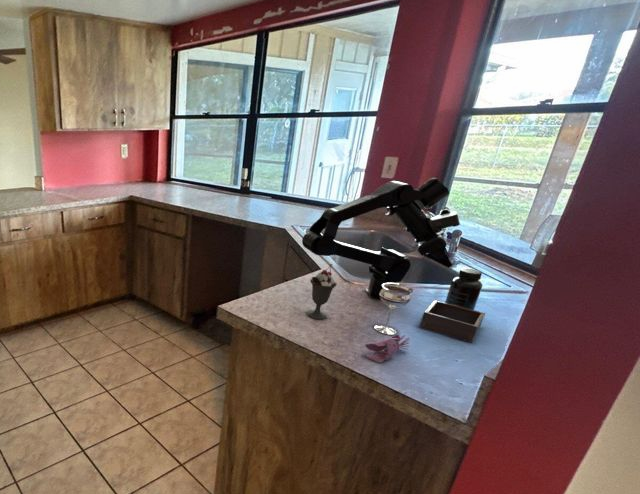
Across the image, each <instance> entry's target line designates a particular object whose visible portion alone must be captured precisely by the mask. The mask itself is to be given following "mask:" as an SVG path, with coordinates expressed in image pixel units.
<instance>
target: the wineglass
mask: <svg viewBox="0 0 640 494" xmlns="http://www.w3.org/2000/svg"><path fill="white" fill-rule="evenodd" d="M382 287H383V289H382V290H381V291H380V294H379V295H380V299H379V300H381V302H382V303H383V305H385V306H387V307H388V313H387V318H386V323H385V325H384V324H383V325H382V324H379V325H378V324H377V325H375V326H374V329H375V330H376V331H377V332H379V333H381V334H384V335H397V330H396V329H394V328H393V327H391V326H388V325H389V323H390V319H391V317H392V315H393V311H394V310H395V309H398V308H402V307H405V306H407V305H408V304H409V303H410V302H411V299H412V293H413V292H414V290H413V288H411V287H410V286H408V285H406V284H405V285H404V284H402V283H397V284H396V283H385V284H383V285H382Z"/></svg>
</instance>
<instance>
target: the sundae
mask: <svg viewBox="0 0 640 494" xmlns="http://www.w3.org/2000/svg"><path fill="white" fill-rule="evenodd" d="M332 266H333V264H332V263H330V264H329V266H328V268H329V271H327V270H328V268H326V269H323V270H322V271H320V272H319V273H317V274H316V276H312V277H311V279H310V280H309V282H310V284H311V285H312V286H311V287H312V288H311V298H312V302H313V303H315V304H316V306H315V309H314V310H309V311H308V312H307V313H306V314H307V316H308V317H310V318H311V319H315V320H324V319H326V318H327V315H326V314H325V313H324V312H321V307H322V305H325V304H326V303H328V301H329V299H330V297H331V294H332V292H333V289H334V288H336V287H337V285H338V283H337V282H335V279H334V278H333V276H332V275H333V273H332V272H331V271H332Z"/></svg>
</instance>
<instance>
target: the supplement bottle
mask: <svg viewBox="0 0 640 494" xmlns="http://www.w3.org/2000/svg"><path fill="white" fill-rule="evenodd" d="M482 275H483V272H482V271H481V270H478V269H474V268H470V267H469V268H466V267H464V268H460V270H459V272H458V274H457V276H456V277H454V278H452V280H451V283H450V285H449V287H448V288H449V289H448V292H447V295H446V298H445V300H444V301H445V302H444V303H448V304H452V305H456V306H460V307H464V308H467V309H471V310H475V308H476V305H477V303H478V300H479V297H480V294H481V291H482V289H483V283H482V281H480V280H481V278H482Z"/></svg>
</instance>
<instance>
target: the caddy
mask: <svg viewBox="0 0 640 494" xmlns="http://www.w3.org/2000/svg"><path fill="white" fill-rule="evenodd" d="M485 315H486V312H482V311H479V310H475V309H474V310H471V309H467V308H464V307H460V306H456V305H452V304H448V303H445V302H443V301H440V300H435V299H434V300H433V301H432V302H431V303H430V305H429V306H428V307H426V309H425V311H424V312H423V314H422V318H421V320H420V323H419V328H420V329H423V330H427V331H431V332H434V333H436V334H441V335H443V336H447V337H450V338H454V339H457V340H459V341H462V342H463V341H464V342H467V343H469V344H472V343H473V341H474V339H475V337H476V336H477V334H478V332H479V330H480V328H481V325H482V323H483V321H484V319H485Z"/></svg>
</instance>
